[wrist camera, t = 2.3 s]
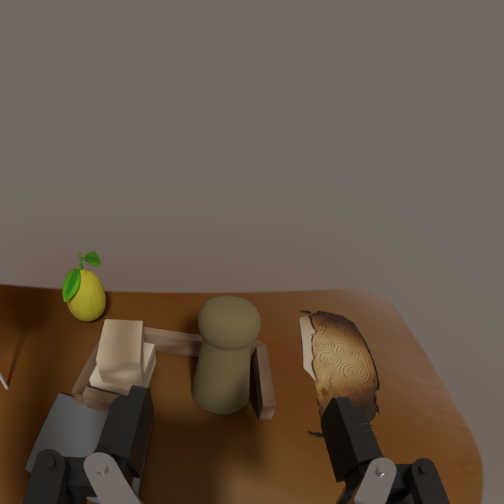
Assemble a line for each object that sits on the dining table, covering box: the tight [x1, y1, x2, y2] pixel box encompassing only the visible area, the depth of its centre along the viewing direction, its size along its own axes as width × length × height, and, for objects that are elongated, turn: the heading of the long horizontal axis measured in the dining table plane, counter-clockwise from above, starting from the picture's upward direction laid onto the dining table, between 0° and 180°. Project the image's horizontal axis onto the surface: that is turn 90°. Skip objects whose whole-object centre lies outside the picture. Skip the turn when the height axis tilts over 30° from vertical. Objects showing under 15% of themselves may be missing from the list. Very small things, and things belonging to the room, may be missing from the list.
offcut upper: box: [96, 319, 145, 385], centre depth 23 cm, size 4×6×3 cm, turn 16°
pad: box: [25, 393, 153, 504], centre depth 15 cm, size 10×10×1 cm
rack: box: [71, 327, 276, 420], centre depth 25 cm, size 19×12×2 cm, turn 93°
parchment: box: [299, 310, 379, 437], centre depth 32 cm, size 25×10×1 cm, turn 174°
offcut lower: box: [89, 342, 156, 396], centre depth 24 cm, size 5×7×3 cm
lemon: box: [62, 252, 106, 322], centre depth 30 cm, size 7×6×10 cm
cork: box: [191, 296, 261, 414], centre depth 24 cm, size 6×6×11 cm
